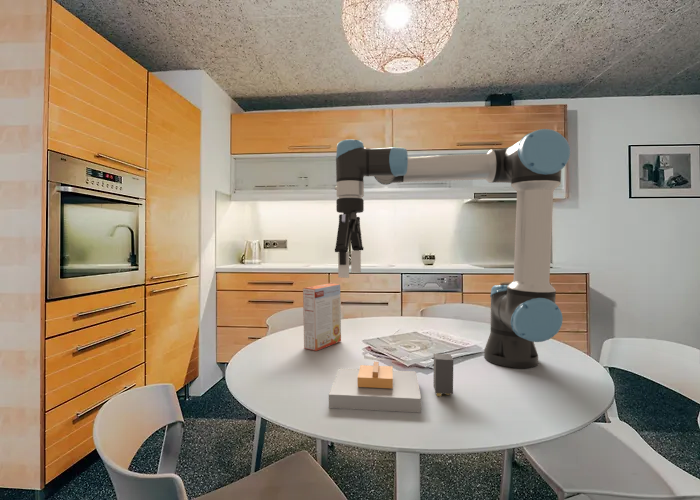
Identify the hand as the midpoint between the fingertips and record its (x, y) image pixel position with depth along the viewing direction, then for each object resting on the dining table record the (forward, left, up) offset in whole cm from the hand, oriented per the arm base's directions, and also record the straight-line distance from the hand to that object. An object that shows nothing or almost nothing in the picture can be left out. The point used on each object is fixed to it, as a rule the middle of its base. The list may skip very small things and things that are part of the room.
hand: (350, 275), depth 101 cm
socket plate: (-8, +14, -27) cm, 32 cm away
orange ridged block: (-8, +14, -24) cm, 29 cm away
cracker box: (+12, -24, -27) cm, 38 cm away
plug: (-24, +12, -27) cm, 38 cm away
